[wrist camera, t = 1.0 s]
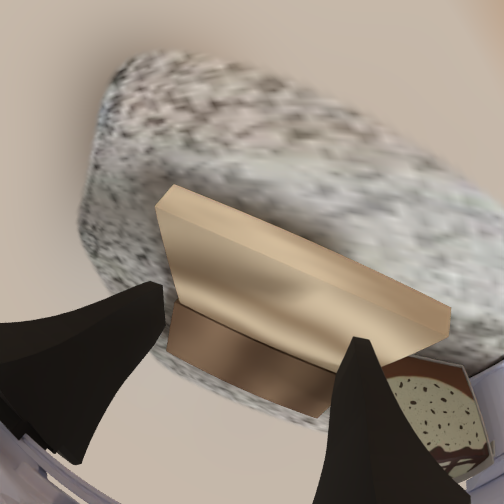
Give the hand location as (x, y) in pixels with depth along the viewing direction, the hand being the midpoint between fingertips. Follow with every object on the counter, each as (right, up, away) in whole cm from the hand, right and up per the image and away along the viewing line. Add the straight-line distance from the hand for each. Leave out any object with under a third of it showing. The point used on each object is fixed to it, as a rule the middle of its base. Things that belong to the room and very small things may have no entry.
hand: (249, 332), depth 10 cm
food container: (+13, -8, +10) cm, 18 cm away
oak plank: (+2, 0, +6) cm, 7 cm away
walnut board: (+1, -6, +13) cm, 15 cm away
